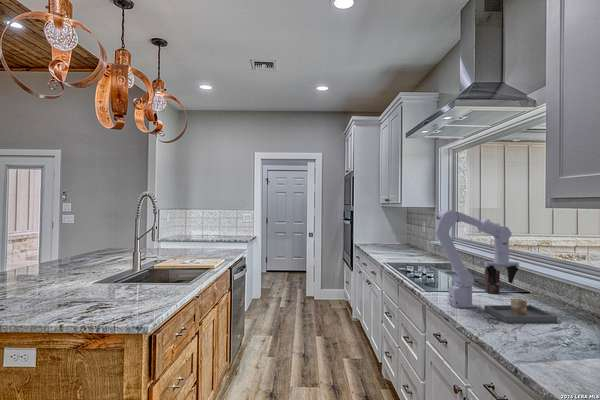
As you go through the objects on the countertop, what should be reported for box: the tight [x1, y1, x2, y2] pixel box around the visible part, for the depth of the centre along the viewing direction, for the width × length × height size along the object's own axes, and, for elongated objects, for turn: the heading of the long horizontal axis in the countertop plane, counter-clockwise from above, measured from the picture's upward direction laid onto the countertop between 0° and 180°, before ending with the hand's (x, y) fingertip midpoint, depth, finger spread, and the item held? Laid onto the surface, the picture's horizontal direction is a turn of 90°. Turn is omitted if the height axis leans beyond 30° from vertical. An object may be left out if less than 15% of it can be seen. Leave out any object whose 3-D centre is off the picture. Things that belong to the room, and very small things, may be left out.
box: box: [484, 268, 501, 294], centre depth 191 cm, size 6×4×12 cm
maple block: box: [510, 298, 528, 316], centre depth 150 cm, size 4×4×6 cm
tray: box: [484, 304, 558, 324], centre depth 150 cm, size 20×16×2 cm
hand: (501, 282), depth 167 cm, fingers open, 7 cm apart
